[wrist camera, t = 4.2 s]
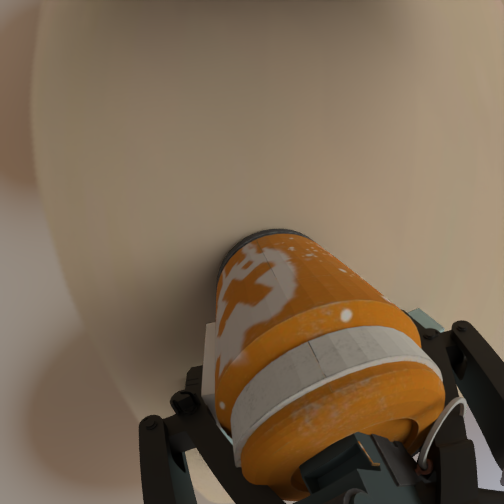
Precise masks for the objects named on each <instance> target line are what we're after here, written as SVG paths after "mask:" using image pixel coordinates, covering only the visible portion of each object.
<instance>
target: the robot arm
mask: <svg viewBox="0 0 504 504" xmlns="http://www.w3.org/2000/svg"><path fill="white" fill-rule="evenodd" d="M400 310H401V309H400ZM401 311H403V312H404V313H405V314H406V315H407V316H409V317H410V318H411V320H412V321H413V323H414V324H415V326H416V327H417V330H418V333H419V336H420V341H421V349H422V350H423V351H424V352H425V353H426V354H427V355H428V356H429V357H430V358H431V359H432V360H433V362H434V363H435V364H436V365H437V366H438V368H439V369H440V371H441V374H442V379H443V386H444V390H445V404H444V408H445V407H446V406H447V405H448V404H449V402H451V401H452V400H453V399H454V398H456V397H459V395H458V390H457V386H458V388H459V390H460V392H461V393H462V395H463V397H464V398H465V399H466V402H467V404H468V406H469V408H470V410H471V412H472V413H473V415H474V417H475V419H476V421H477V423H478V425H479V427H480V429H481V431H482V433H483V435H484V437H485V439H486V442H487V444H488V446H489V448H490V450H491V452H492V455H493V457H494V459H495V461H496V462H497V464H498V466H499V467H500V468H501V470H502V471H503V472H502V478H501V480H500V483H501V485H502V486H504V362H503V361H502V360H501V358H500V357H499V356H498V355H497V353H496V352H495V351H494V350H493V349H492V347H491V346H490V345H489V344H488V343H487V342H486V340H485V339H484V338H483V337H482V336H481V335H480V334H479V332H478V331H477V330H476V329H475V328H474V327H473V326H472V325H471V324H470V323H469V322H467V321H457V322H455V323H454V324H453V325H452V329H451V330H450V331H446V332H441V333H440V332H439V331H438V330H436V329H433V328H425V327H423V326H422V325H421V324H420V323H419V322H417V321H416V320H415V319H413V317H411V316H410V315H409V314H408V313H406V312H405V311H404V310H401ZM215 327H216V322H213V323H208V324H206V334H205V346H204V360H203V365H202V366H197V367H191V369H190V370H189V372H188V373H187V377H186V386H185V390H181V391H178V392H177V393H175V394H174V395H173V396H172V397H171V400H170V404H171V406H172V408H173V409H174V411H175V413H176V414H175V415H173V416H170V417H168V418H165V419H162V418H161V417H160V416H157V415H150V416H147V417H145V418H144V419H143V420H142V421H141V422H140V424H139V451H140V468H141V481H142V491H143V500H144V504H197V501H196V497H195V494H194V490H193V486H192V482H191V478H190V474H189V469H188V465H187V460H186V456H185V451H188V450H190V449H193V448H197V450H198V451H199V453H200V454H201V456H202V457H203V459H204V460H205V462H206V463H207V465H208V466H209V468H210V469H211V471H212V472H213V474H214V475H215V477H216V478H217V479H218V481H219V482H220V484H221V485H222V486H223V488H224V489H225V490H226V492H227V493H228V494H229V496H230V497H231V498H232V500H233V501H234V502H235V503H236V504H286V503H285V502H284V501H283V500H282V499H281V498H280V497H279V496H278V495H277V494H276V493H275V492H274V491H273V490H272V489H271V488H270V487H269V486H268V485H255V484H252V483H250V482H249V481H247V480H246V479H245V477H244V476H243V474H242V467H237V468H236V466H235V460H234V451H233V445H232V444H231V443H230V441H229V440H228V439H227V438H226V436H225V435H224V434H223V432H222V431H221V430H220V429H222V427H221V426H220V423H219V421H218V419H217V416H216V410H215ZM456 385H457V386H456ZM443 410H444V409H443ZM459 414H460V404H457V405H456V406H455V407H454V408H453V409H452V410H451V411H450V413H449V414H448V415H447V417H446V418H445V420H444V421H443V423H442V425H441V426H440V428H439V430H438V432H437V433H436V435H435V437H434V439H433V441H432V443H431V446H430V448H429V451H428V454H427V458H426V459H430V460H432V462H433V470H432V472H431V473H430V474H427V475H426V477H427V480H428V481H430V482H429V483H425V484H424V482H423V480H421V481H420V482H418V483H417V484H416V485H415V486H414V487H415V489H416V490H417V492H418V496H419V498H420V500H421V502H422V504H504V491H495V490H488V489H481V488H478V481H477V467H476V457H475V450H474V444H473V441H472V440H468V439H467V436H466V430H465V424H464V418H463V416H461V415H459ZM436 420H437V419H436ZM436 420H435V421H434V422H433V424H432V426H431V428H432V427H433V425H434V423H435V422H436ZM216 424H217V425H216ZM430 430H431V429H430ZM429 432H430V431H429ZM428 434H429V433H428ZM425 440H426V439H425ZM424 442H425V441H424ZM423 444H424V443H423ZM423 444H422V446H421V447H420V452H421V449H422V447H423ZM425 471H426V470H425Z"/></svg>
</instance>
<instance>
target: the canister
mask: <svg viewBox="0 0 504 504" xmlns="http://www.w3.org/2000/svg"><path fill="white" fill-rule="evenodd" d="M444 404H445V390H444V386H443V379H442V374H441V371H440V369H439V368H438V366H437V365H436V364H435V363H434V362H433V360H432V359H431V358H430V357H429V356H428V355H427V354H426V353H425V352H424V351H423V350H422V349H421V341H420V336H419V333H418V330H417V327H416V326H415V324H414V323H413V321H412V320H411V318H410V317H409V316H407V315H406V314H405V313H404V312H403V311H401V310H400V309H399V308H398V307H397V306H395V305H394V304H393V303H392V302H391V301H389V300H388V299H387V298H386V297H385V296H383V295H382V294H381V293H380V292H378V291H377V290H376V289H375V288H373V287H372V286H371V285H370V284H368V283H367V282H366V281H365V280H363V279H362V278H361V277H360V276H358V275H357V274H356V273H355V272H353V271H352V270H351V269H349V268H348V267H347V266H346V265H344V264H343V263H342V262H340V261H339V260H338V259H337V258H335V257H334V256H333V255H331V254H330V253H329V252H327V251H326V250H325V249H323V248H322V247H321V246H320V245H318V244H317V243H316V242H314V241H313V240H312V239H310V238H309V237H307V236H305V235H303V234H301V233H299V232H296V231H293V230H288V229H269V230H263V231H260V232H257V233H254V234H252V235H250V236H248V237H246V238H245V239H243V240H242V241H241V242H239V243H238V244H237V245H236V246H235V247H234V248H233V249H232V250H231V251H230V252H229V253H228V255H227V256H226V258H225V259H224V261H223V263H222V265H221V267H220V270H219V274H218V278H217V294H216V327H215V410H216V416H217V419H218V421H219V423H220V426H221V427H222V429H223V430H224V431H225V433H226V434H227V435H228V436H229V437H230V438H231V439H232V441H233V451H234V460H235V466H236V468H237V467H242V474H243V476H244V477H245V479H246V480H247V481H249V482H250V483H252V484H255V485H268V486H269V487H270V488H271V489H272V490H273V491H274V492H275V493H276V494H277V495H278V496H279V497H280V498H281V499H282V500H287V501H297V502H295V503H293V504H422V502H421V500H420V498H419V496H418V492H417V490H416V489H415V487H414V486H415V485H416V484H417V483H418V482H420V481H421V480H423V482H424V484H425V483H429V482H430V481H428V480H427V477H426V475H427V474H430V473H431V472H432V470H433V462H432V460H430V459H426V458H427V454H428V451H429V448H430V446H431V443H432V441H433V439H434V437H435V435H436V433H437V432H438V430H439V428H440V426H441V425H442V423H443V421H444V420H445V418H446V417H447V415H448V414H449V413H450V411H451V410H452V409H453V408H454V407H455V406H456V405H457V404H460V414H459V415H461V416H463V418H464V417H465V414H466V408H467V402H466V399H465V398H462V397H456V398H454V399H453V400H452V401H451V402H449V404H448V405H447V406H446V407H445V408H444ZM443 409H444V410H443ZM436 419H437V420H436ZM435 420H436V422H435V423H434V425H433V427H432V428H431V426H432V424H433V422H434V421H435ZM430 429H431V430H430ZM429 431H430V432H429ZM428 433H429V434H428ZM425 439H426V440H425ZM424 441H425V442H424ZM423 443H424V444H423ZM422 444H423V447H422V449H421V452H420V447H421V446H422ZM418 452H420V453H419V456H418V460H417V462H416V461H415V460H414V459H413V458H412V457H413V456H415V455H416V454H417V453H418ZM425 470H426V471H425Z"/></svg>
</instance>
